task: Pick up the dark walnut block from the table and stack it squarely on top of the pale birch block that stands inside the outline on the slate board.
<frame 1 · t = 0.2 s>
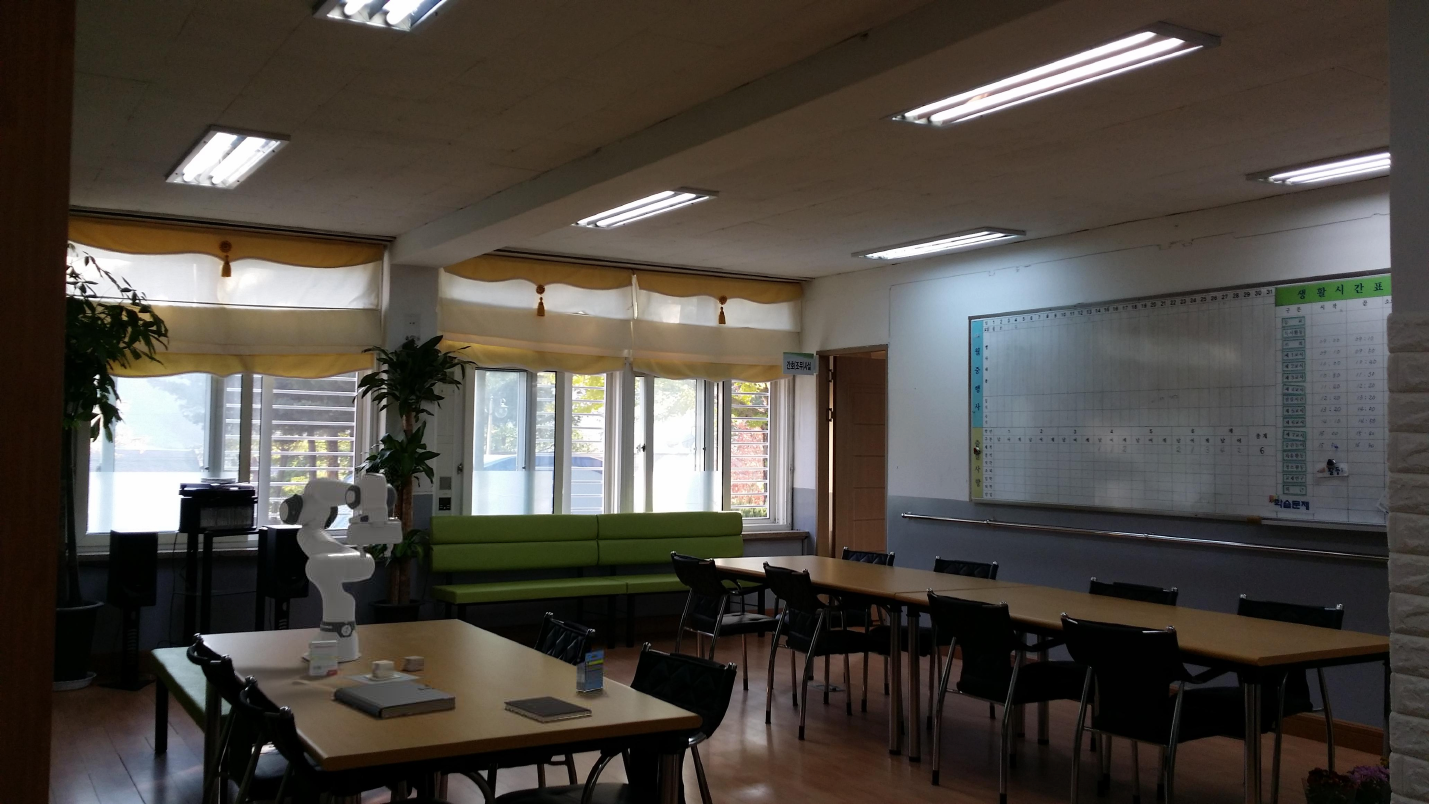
hand: (375, 557, 383), 39 cm above the table, tool pointing down, fingers open, 8 cm apart
blue grey product box: (589, 690, 348), on the table
ink box: (323, 677, 363), on the table
hardcover book: (547, 714, 315), on the table
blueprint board: (382, 680, 358), on the table
walnut block: (413, 672, 374), on the table
birch block: (382, 677, 358), point 1 cm above the table, touching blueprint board
file folder: (394, 705, 323), on the table
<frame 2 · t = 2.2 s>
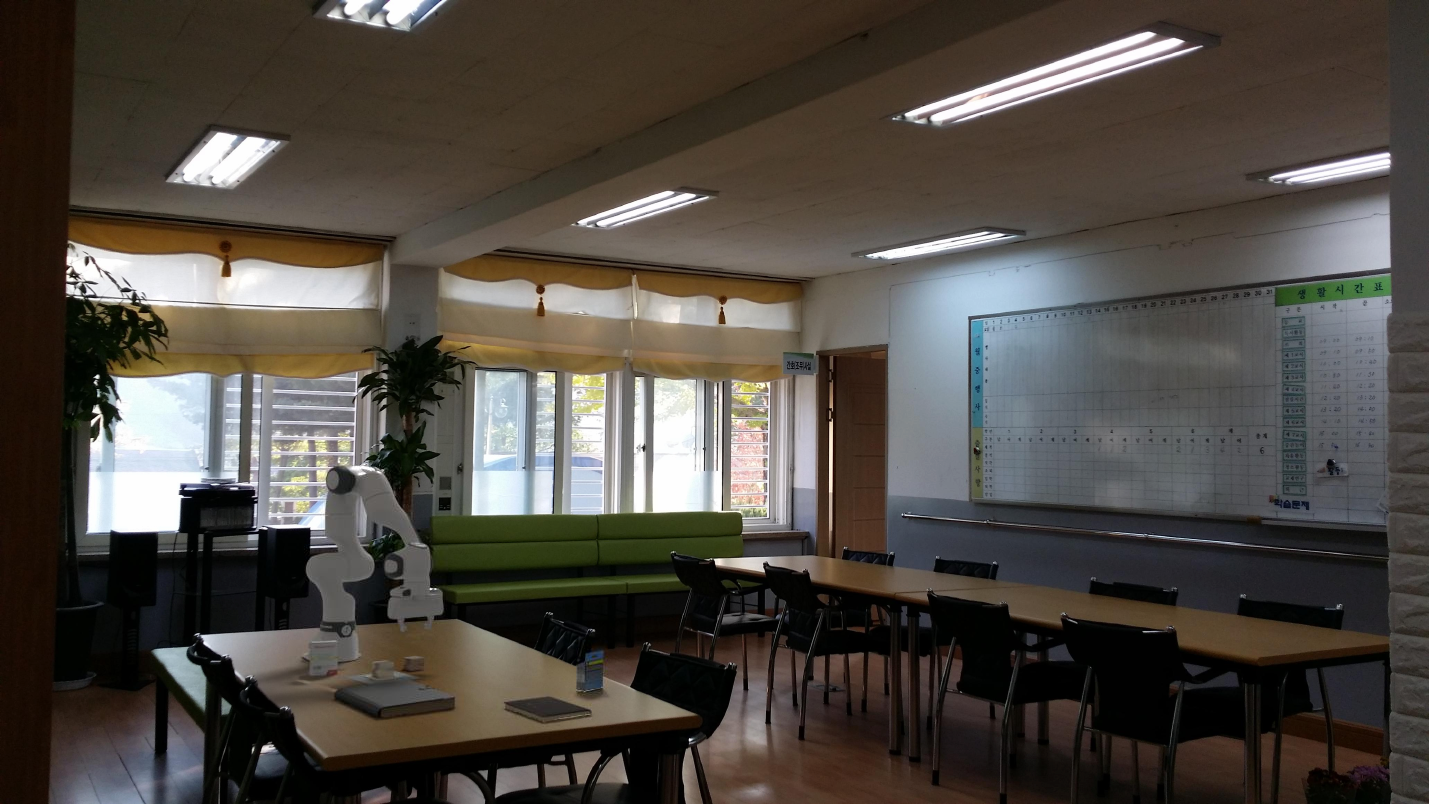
hand: (415, 630, 375), 14 cm above the table, tool pointing down, fingers open, 8 cm apart
nothing on the table moved.
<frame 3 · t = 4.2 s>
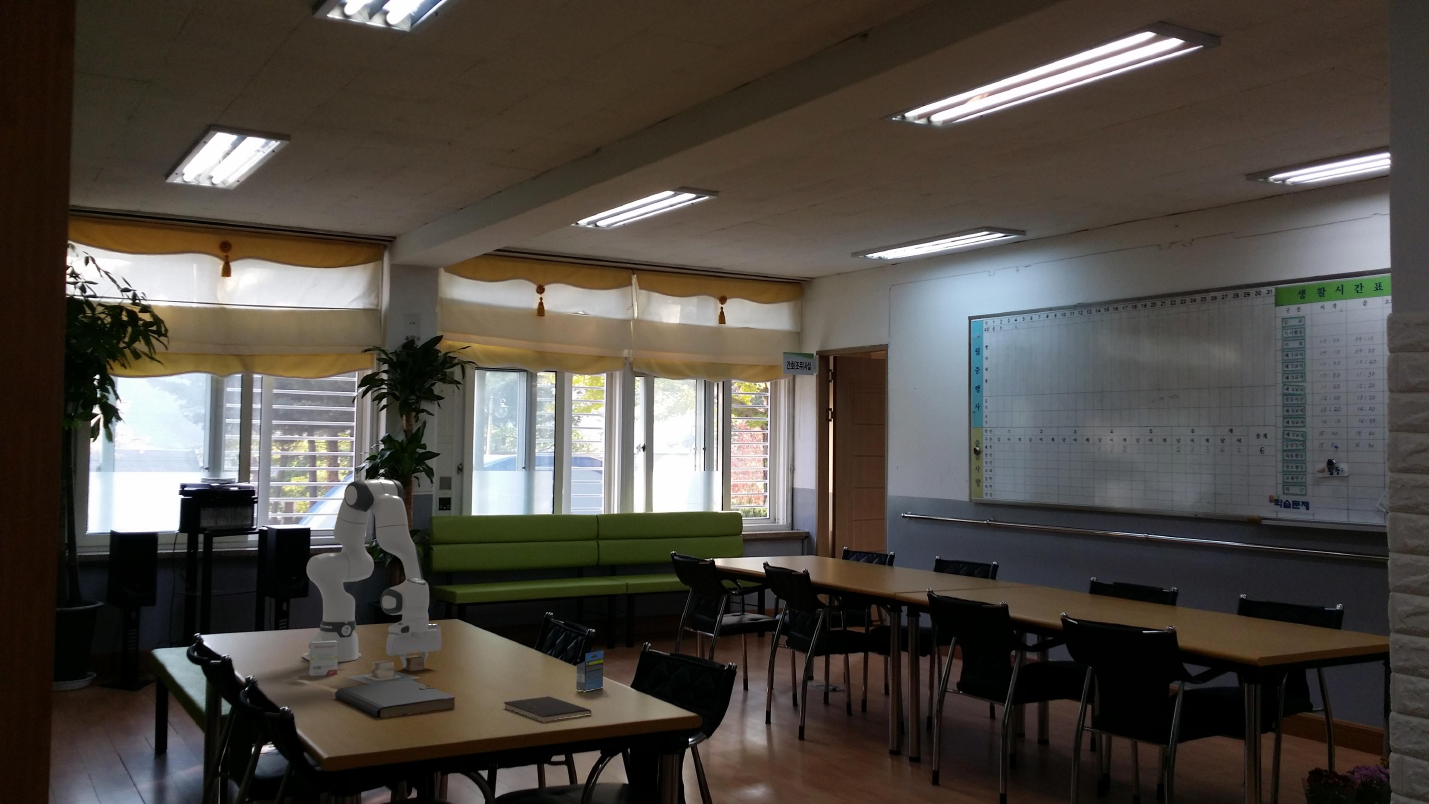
hand: (413, 666, 375), 2 cm above the table, tool pointing down, fingers closed on walnut block, 5 cm apart
walnut block: (413, 671, 374), on the table, touching gripper
everything else where it was.
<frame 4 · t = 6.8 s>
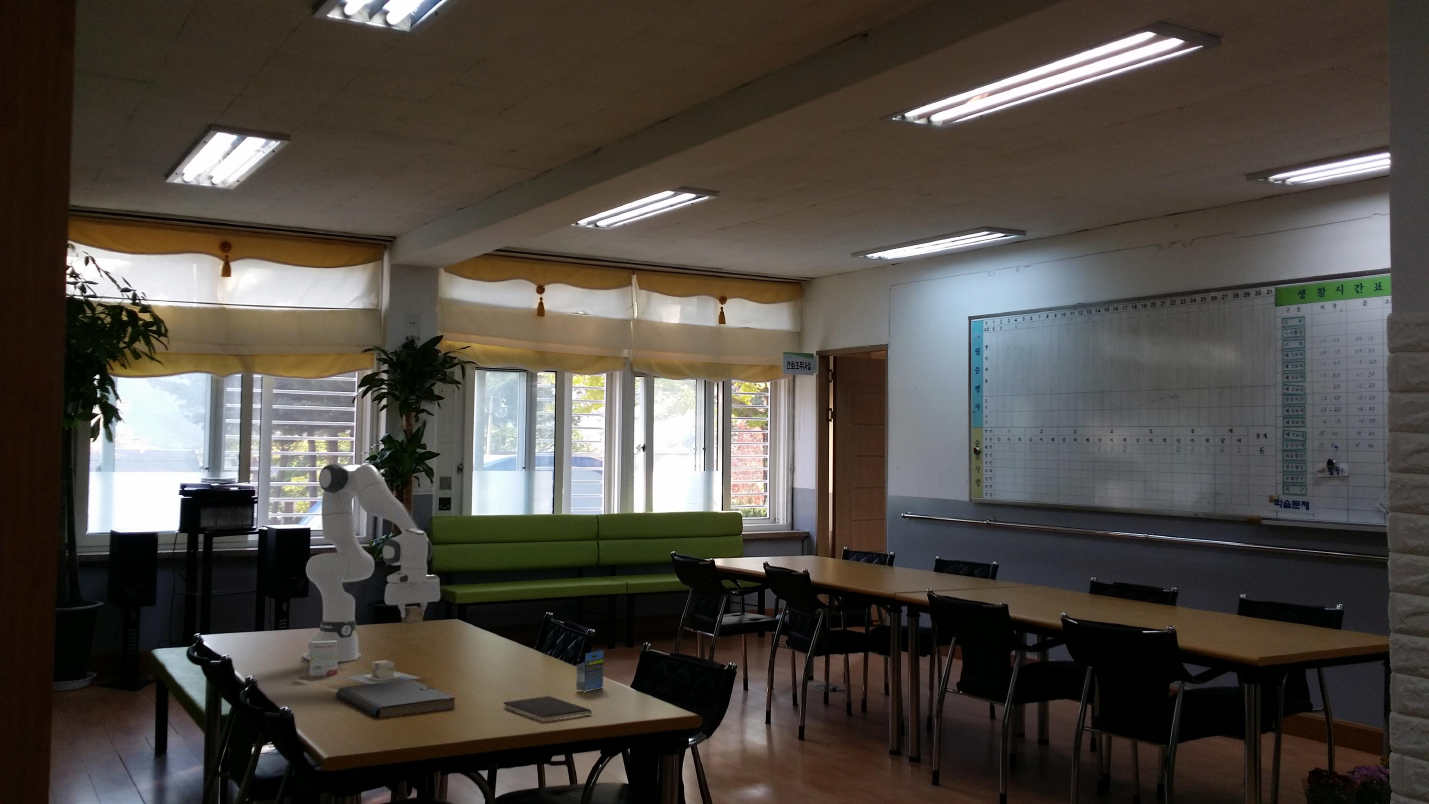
hand: (412, 616, 374), 19 cm above the table, tool pointing down, fingers closed on walnut block, 5 cm apart
walnut block: (412, 622, 374), point 17 cm above the table, touching gripper
everything else where it was.
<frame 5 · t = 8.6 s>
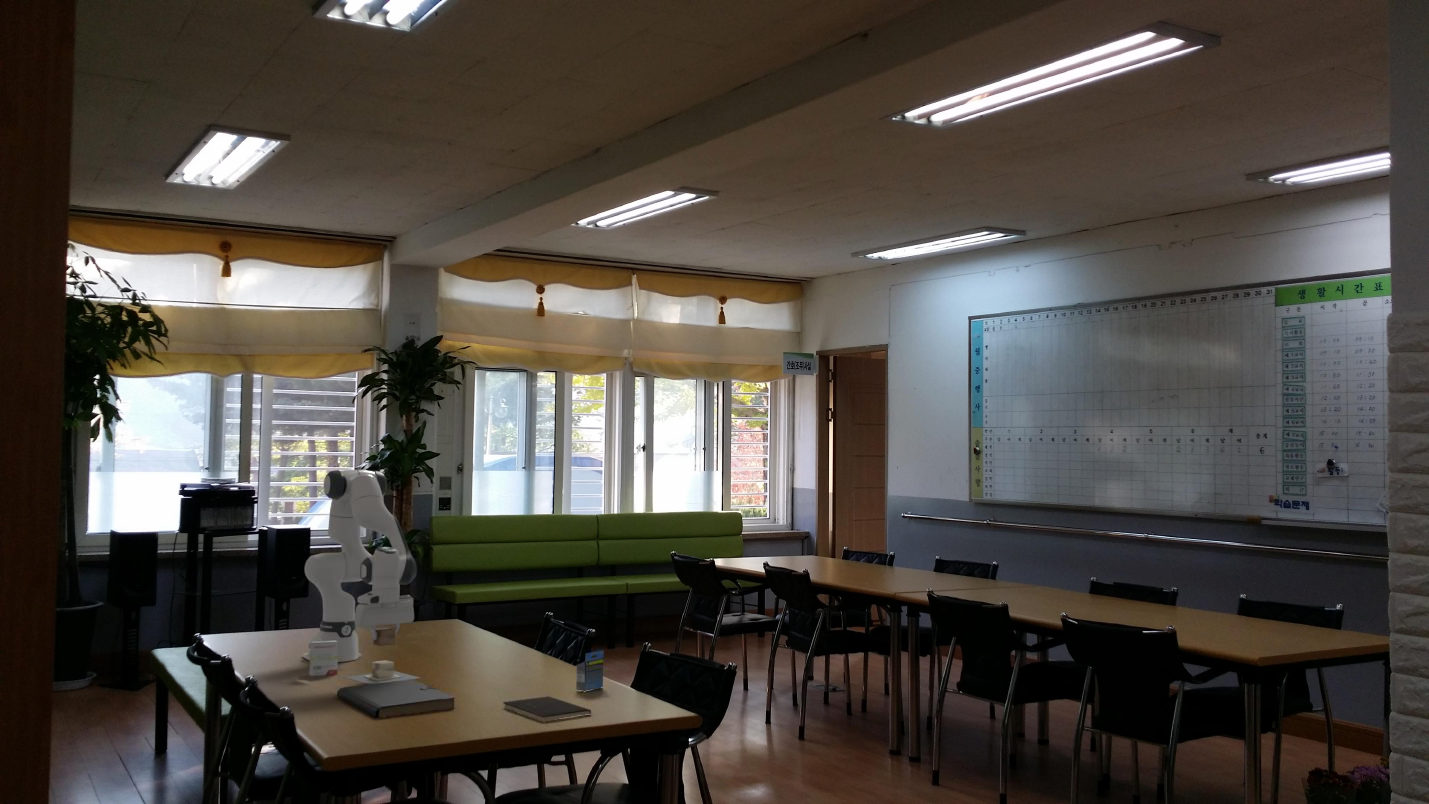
hand: (384, 638, 359), 14 cm above the table, tool pointing down, fingers closed on walnut block, 5 cm apart
walnut block: (384, 644, 359), point 12 cm above the table, touching gripper
everything else where it was.
when the fingers open (10 cm above the table, at t = 9.8 s): walnut block drops 2 cm, resting on birch block.
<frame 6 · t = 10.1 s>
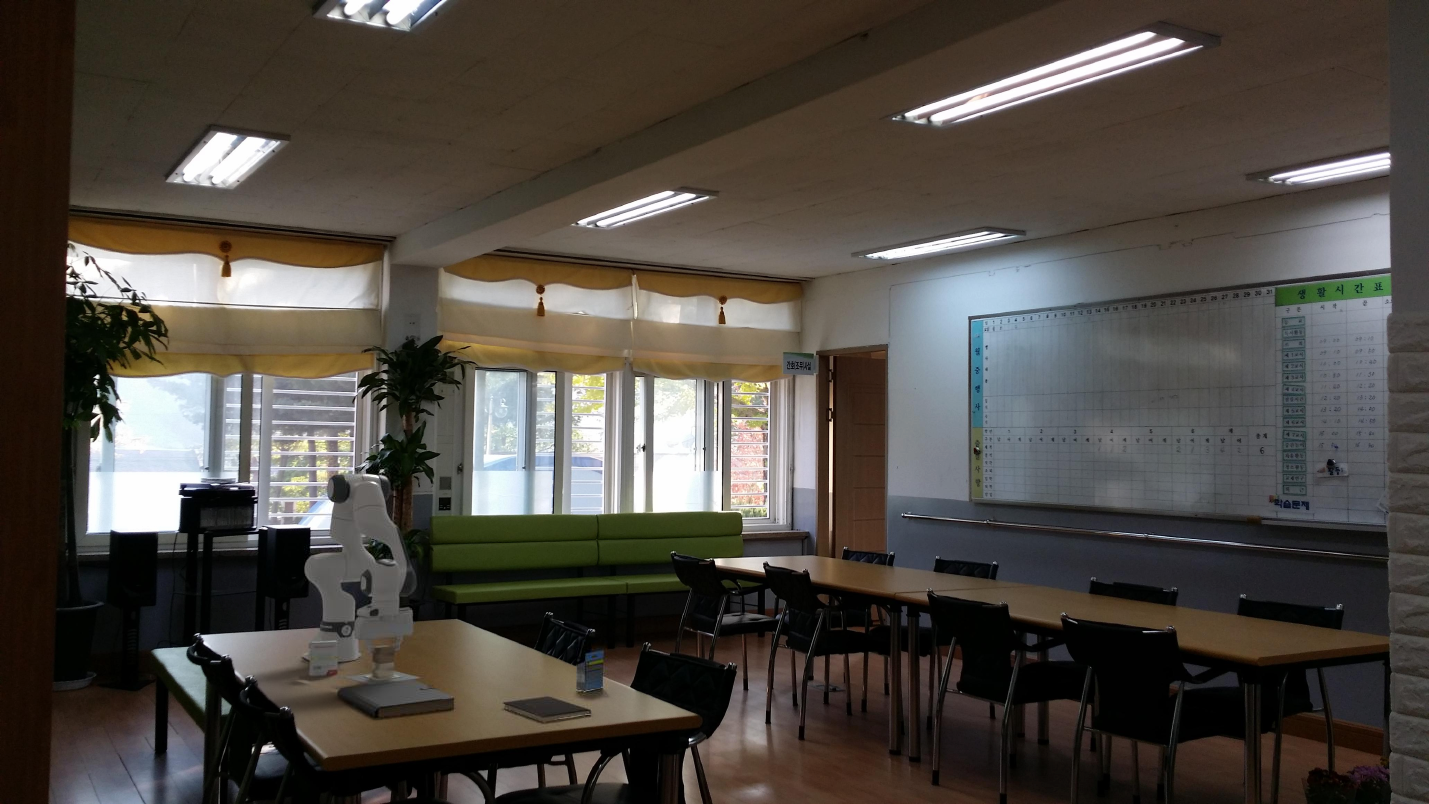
hand: (383, 651, 359), 10 cm above the table, tool pointing down, fingers open, 8 cm apart
walnut block: (383, 662, 358), point 6 cm above the table, touching birch block
birch block: (382, 677, 358), point 1 cm above the table, touching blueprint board, walnut block
everything else where it was.
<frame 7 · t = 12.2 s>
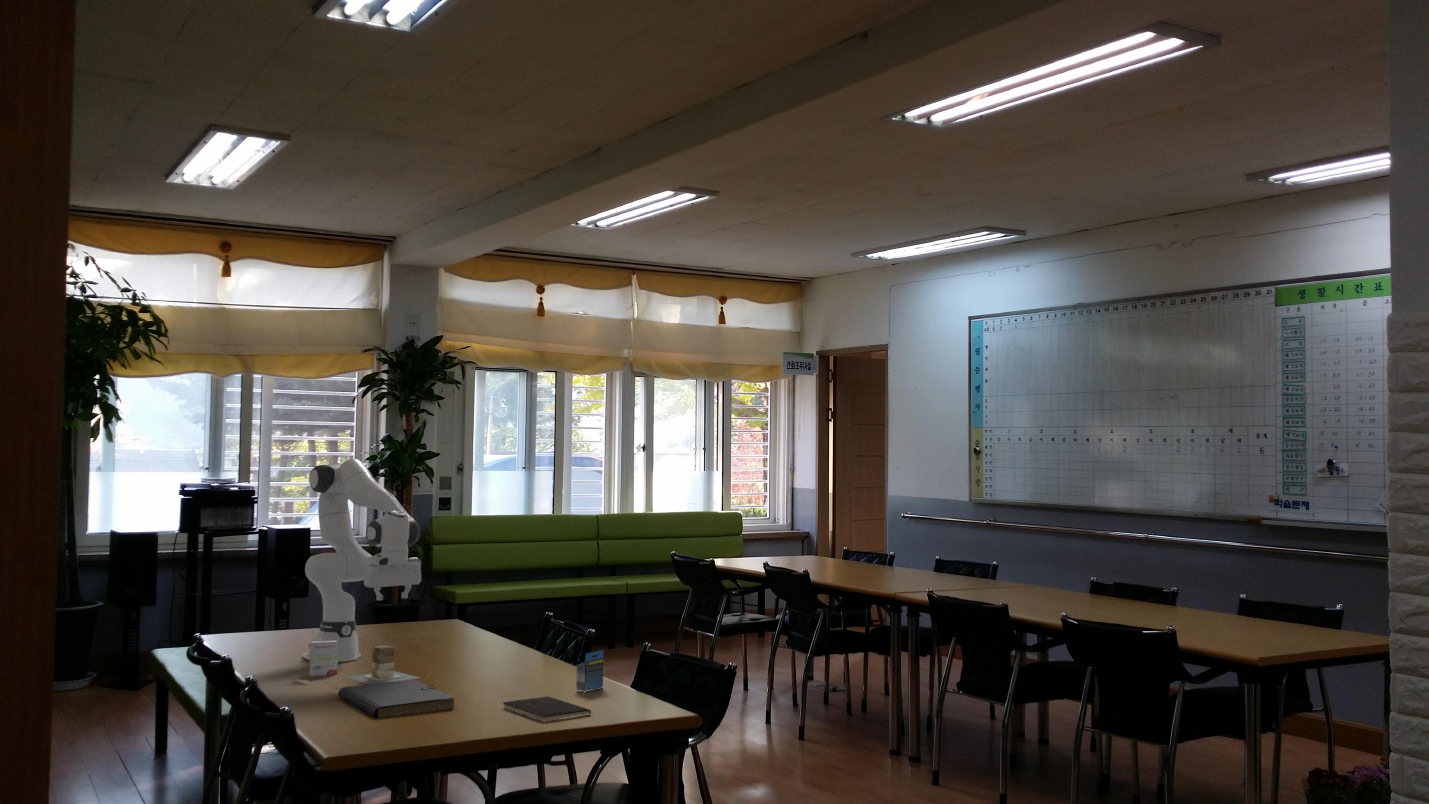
hand: (392, 599, 370), 25 cm above the table, tool pointing down, fingers open, 8 cm apart
nothing on the table moved.
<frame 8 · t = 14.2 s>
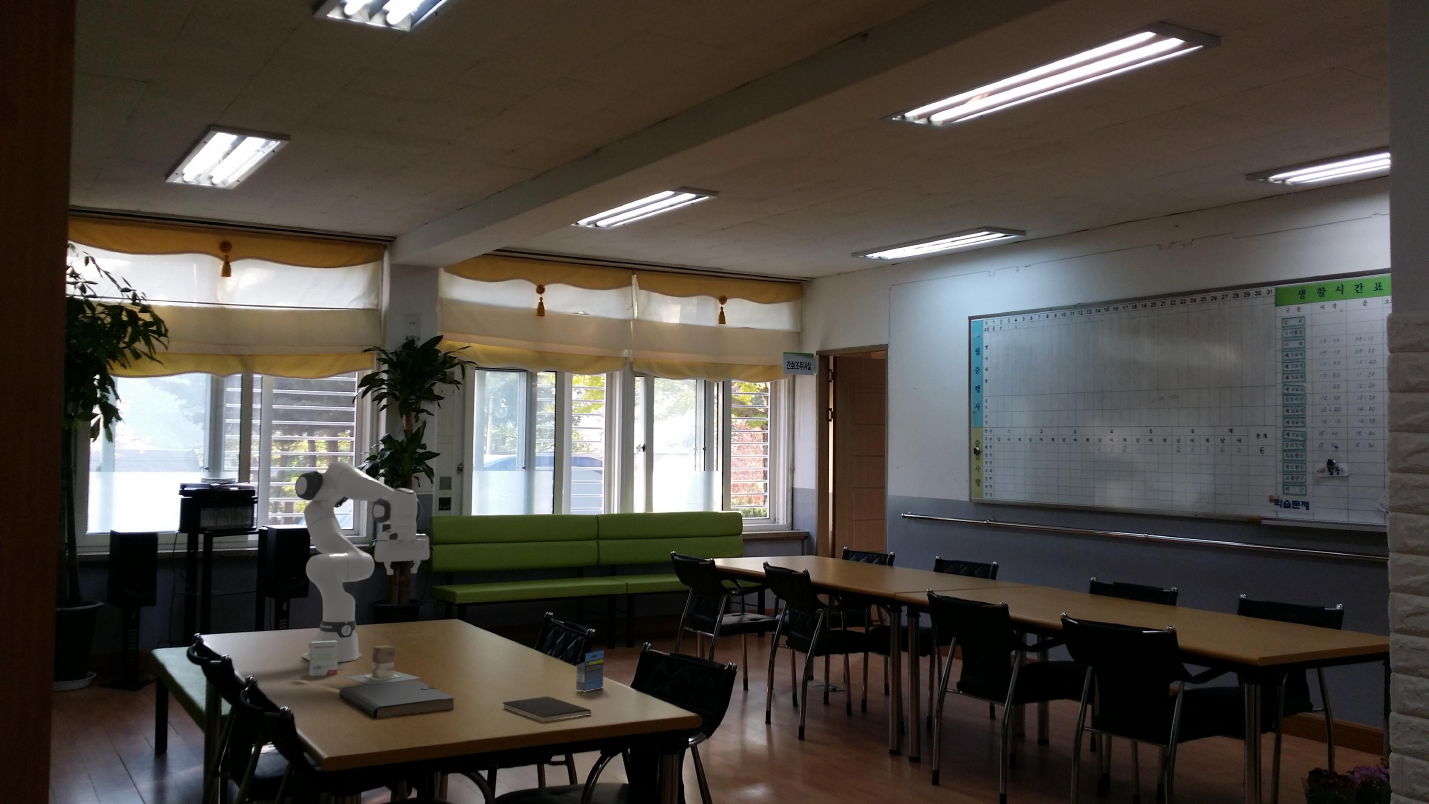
hand: (402, 573, 381), 33 cm above the table, tool pointing down, fingers open, 8 cm apart
at the end: walnut block 0.0 cm off-centre on the birch block, point 5.0 cm above the birch block's base; walnut block tilted 0°; birch block 0.0 cm off-centre on the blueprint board, point 1.0 cm above the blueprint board's base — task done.
